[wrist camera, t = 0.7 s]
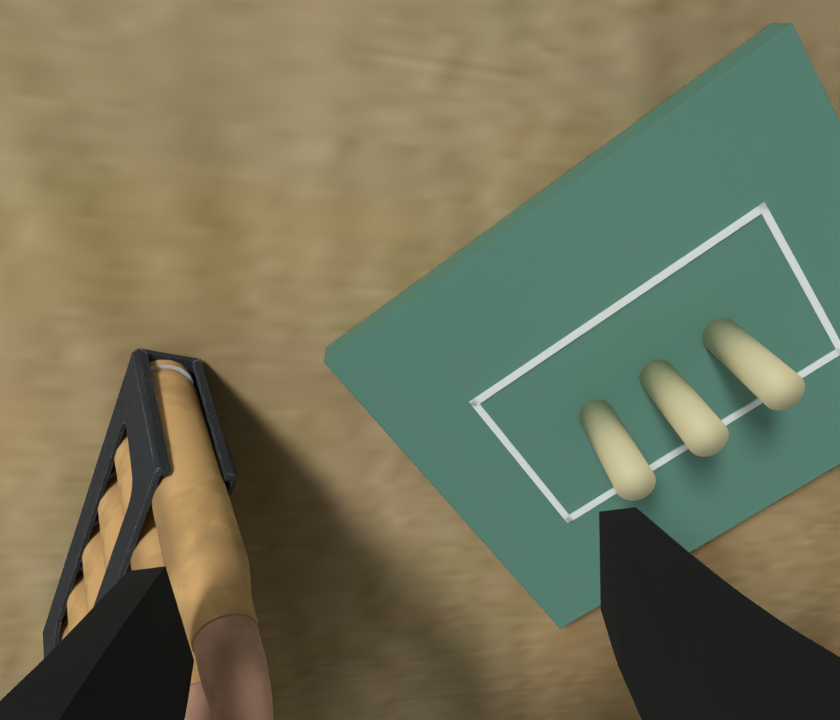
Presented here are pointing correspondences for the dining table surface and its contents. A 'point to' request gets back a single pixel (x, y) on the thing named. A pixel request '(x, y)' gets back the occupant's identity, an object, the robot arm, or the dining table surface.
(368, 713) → the dining table surface
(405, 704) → the dining table surface
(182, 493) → the ammunition clip
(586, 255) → the board
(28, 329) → the dining table surface
